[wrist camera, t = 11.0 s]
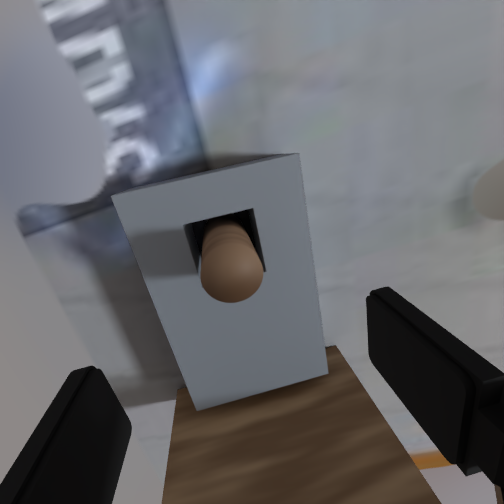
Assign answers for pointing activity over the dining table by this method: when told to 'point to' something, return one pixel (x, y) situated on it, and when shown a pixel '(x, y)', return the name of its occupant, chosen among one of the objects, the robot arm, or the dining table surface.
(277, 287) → the socket block
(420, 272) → the dining table surface
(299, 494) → the glass-topped wooden stand
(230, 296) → the peg
